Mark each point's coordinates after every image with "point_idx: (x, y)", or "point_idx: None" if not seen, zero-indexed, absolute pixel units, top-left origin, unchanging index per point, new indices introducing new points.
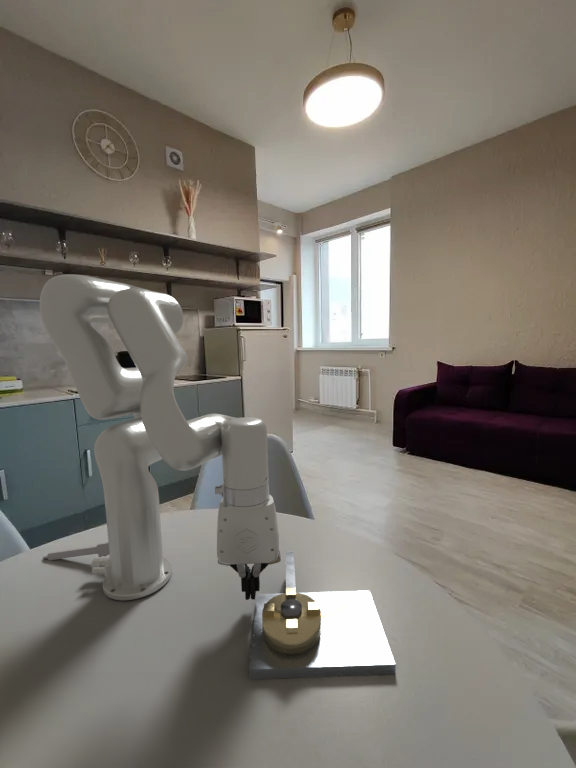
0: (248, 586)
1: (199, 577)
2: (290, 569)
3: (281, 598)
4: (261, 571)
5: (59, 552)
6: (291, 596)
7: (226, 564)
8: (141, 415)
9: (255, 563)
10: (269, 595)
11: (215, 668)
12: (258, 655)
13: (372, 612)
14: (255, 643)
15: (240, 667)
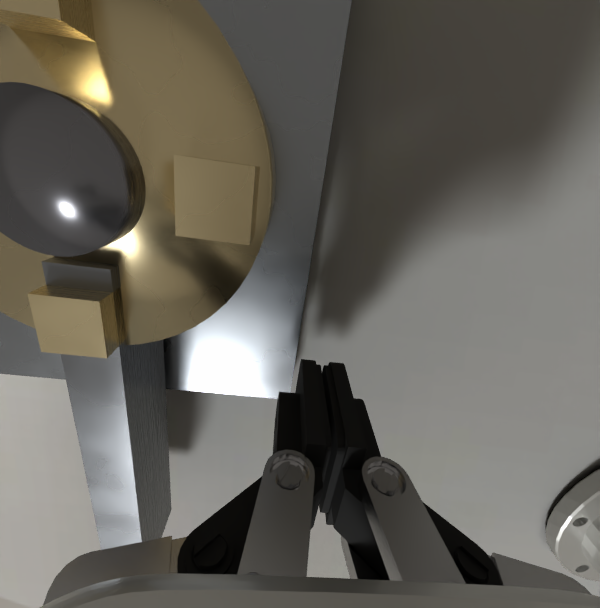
0: (336, 408)
1: (466, 495)
2: (110, 487)
3: (151, 309)
4: (252, 486)
5: None
6: (67, 291)
7: (514, 568)
8: None
9: (295, 578)
10: (239, 386)
11: (485, 75)
12: (304, 31)
13: None
14: (314, 122)
15: (382, 56)
